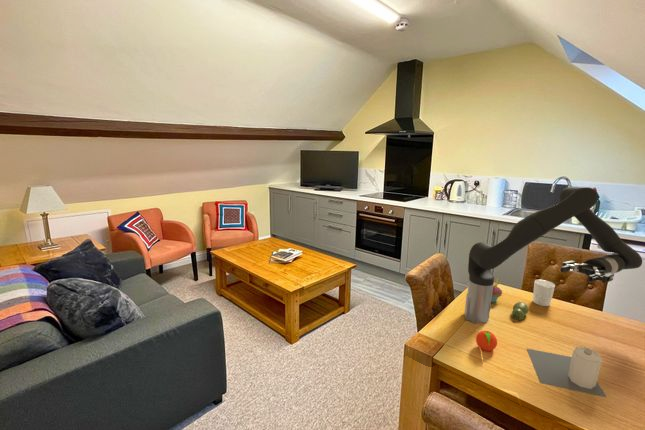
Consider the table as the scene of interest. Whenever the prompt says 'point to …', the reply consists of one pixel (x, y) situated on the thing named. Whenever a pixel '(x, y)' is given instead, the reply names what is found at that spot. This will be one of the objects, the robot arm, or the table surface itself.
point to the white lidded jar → (584, 367)
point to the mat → (557, 371)
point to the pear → (519, 311)
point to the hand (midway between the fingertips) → (575, 274)
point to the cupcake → (496, 292)
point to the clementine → (486, 340)
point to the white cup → (543, 292)
